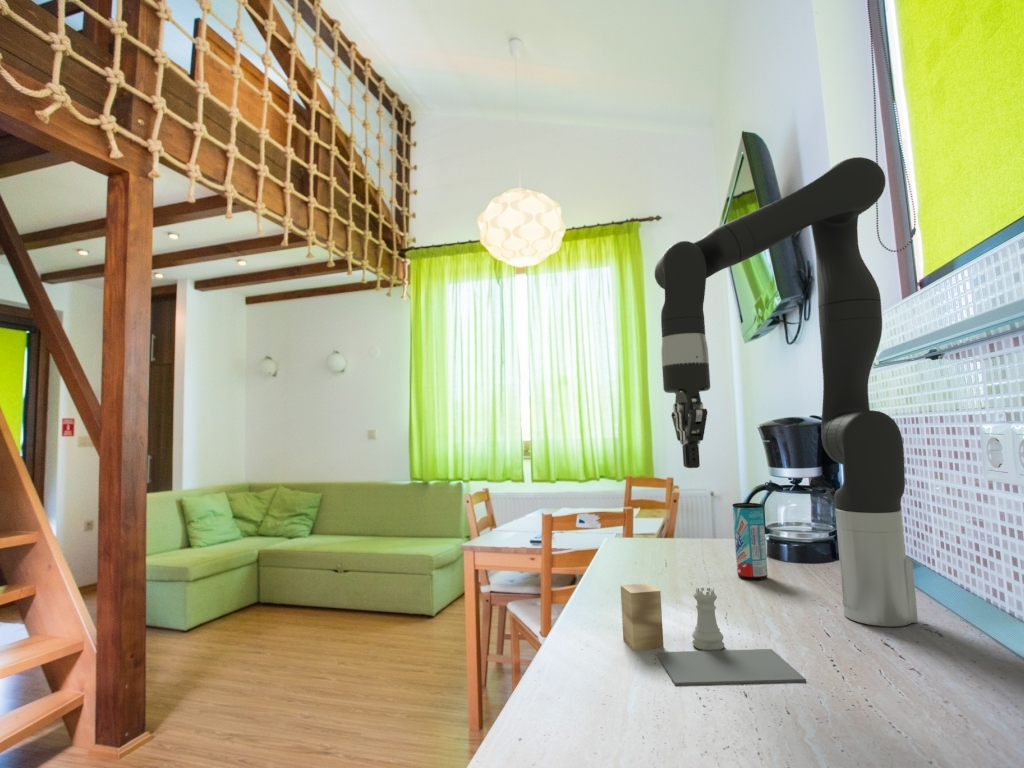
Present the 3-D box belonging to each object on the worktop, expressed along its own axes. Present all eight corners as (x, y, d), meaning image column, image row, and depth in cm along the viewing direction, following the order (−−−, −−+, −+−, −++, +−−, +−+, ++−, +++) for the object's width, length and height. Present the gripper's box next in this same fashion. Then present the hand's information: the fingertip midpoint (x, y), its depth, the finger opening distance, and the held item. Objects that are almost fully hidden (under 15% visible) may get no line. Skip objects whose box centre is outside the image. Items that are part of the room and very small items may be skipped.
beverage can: (741, 572, 125) (736, 502, 127) (770, 575, 122) (765, 503, 123) (733, 578, 120) (728, 505, 122) (764, 582, 117) (758, 506, 118)
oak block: (651, 637, 88) (648, 583, 89) (663, 647, 84) (660, 590, 85) (623, 639, 88) (620, 585, 88) (633, 650, 83) (630, 593, 84)
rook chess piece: (727, 652, 81) (723, 594, 82) (693, 651, 82) (690, 593, 83) (722, 641, 85) (718, 585, 86) (690, 640, 86) (687, 585, 87)
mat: (771, 651, 81) (771, 648, 81) (806, 681, 71) (805, 679, 71) (656, 654, 81) (656, 652, 81) (674, 685, 71) (674, 682, 71)
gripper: (721, 357, 91) (728, 469, 89) (696, 367, 104) (702, 464, 102) (672, 359, 91) (679, 471, 89) (654, 368, 104) (659, 466, 102)
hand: (691, 467), depth 96 cm, fingers closed
